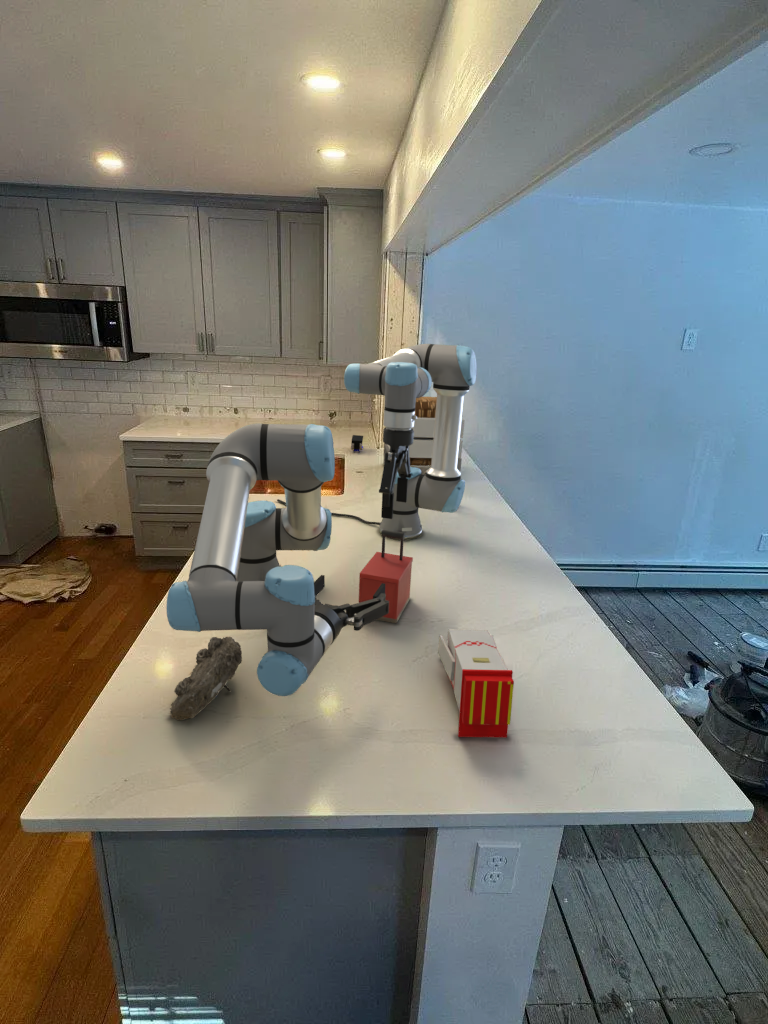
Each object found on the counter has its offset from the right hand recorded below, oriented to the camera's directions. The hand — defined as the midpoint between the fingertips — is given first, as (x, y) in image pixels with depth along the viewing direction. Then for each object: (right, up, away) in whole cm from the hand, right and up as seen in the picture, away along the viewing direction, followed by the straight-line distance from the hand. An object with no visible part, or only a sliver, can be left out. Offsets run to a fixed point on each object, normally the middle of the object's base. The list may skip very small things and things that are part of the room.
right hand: (394, 509), depth 146 cm
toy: (+15, -38, -27) cm, 49 cm away
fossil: (-38, -37, -30) cm, 61 cm away
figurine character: (-18, +33, +166) cm, 170 cm away
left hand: (-9, -16, -25) cm, 31 cm away
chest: (-3, -26, +4) cm, 26 cm away
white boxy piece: (+15, +18, +129) cm, 131 cm away
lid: (-2, -15, +1) cm, 16 cm away
